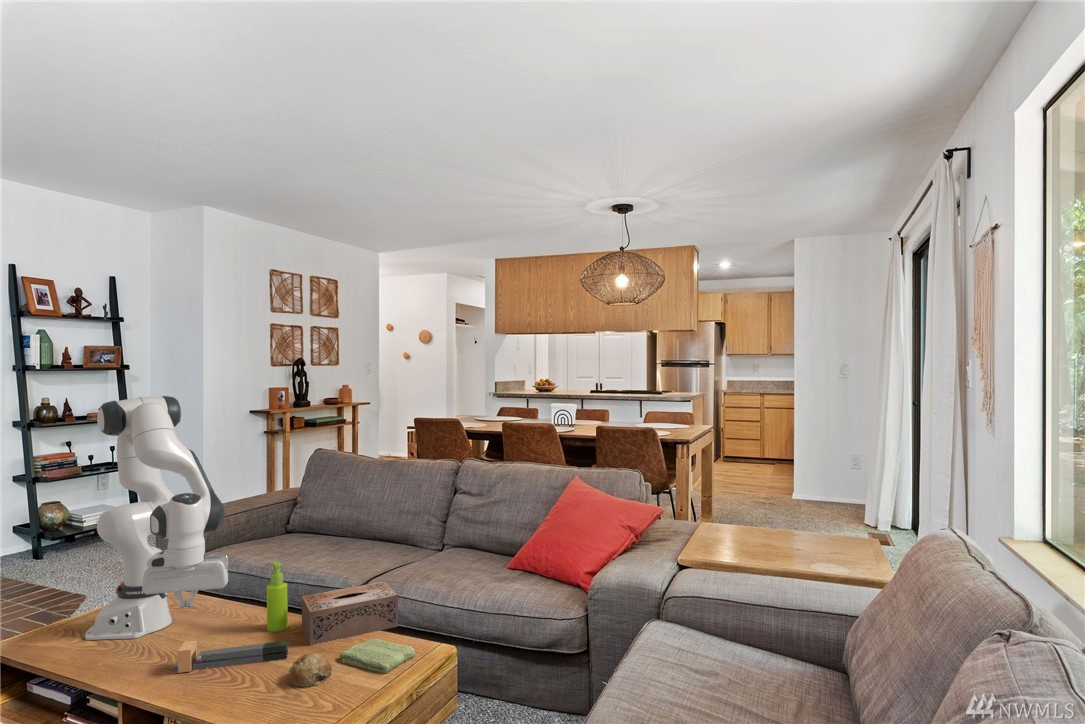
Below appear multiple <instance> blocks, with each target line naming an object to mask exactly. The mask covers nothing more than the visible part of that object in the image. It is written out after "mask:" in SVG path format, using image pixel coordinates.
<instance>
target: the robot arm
mask: <svg viewBox="0 0 1085 724" xmlns="http://www.w3.org/2000/svg"><path fill="white" fill-rule="evenodd" d="M181 407H182V406H181V405H180V402H179V400H178V399H177V398H175V396H168V395H162V396H141V397H140V396H138V397H136V398H128V399H122V400H111V401H107V402H104V403H102V404H101V405H100V407H99V409H98V412H97V416H96V422H97V425H98V427H99V429H100V432H101V433H103V434H105V435H106V436H115V437H116V436H117V440H116V441H117V442H116V459H117V460H116V461H117V471H118V479H119V480H118V481H119V484H120V485H121V487H123V488H124V489H126V490H128V491H133V492H135V493H136V494H137V496H138V497H139V500H140V501H137V502H132V503H127V504H122V505H118V506H115V507H113V508H110V509H108V510H104V511H103V512H102V513H101V514H100V516H99V518H98V519H97V521H96V522H97V523H96V532H97V535H99V538H100V539H101V540H103V541H104V542H105V543H108V544H110V545H112V546H113V547H114V548H115V549H116V550H117V551H118V552H119V555H120V556H121V559H122V565H123V566H122V567H123V580H122V581H120V583H119V585H118V586H117V587H116V588H115V594H116V595H117V596H116V597H114V598H113V599H112V600H111V601H110V602H109V603H107V604H106V605H105V606H103V608H101V609H100V611H98V613H97V614H96V617H95V620H94V623H93V625H92V626H91V627H89V629H87V631H86V632H85V636H84V639H85V640H86V641H90V640H91V641H92V640H93V641H94V640H95V641H96V640H97V641H98V640H122V639H123V640H124V639H125V640H128V639H129V640H131V639H138V638H140V637H143V636H145V635H147V634H151V633H154V632H157V631H160V630H162V629H164V628H167V626H170V624H172V623H173V618H172V615H171V613H170V609H169V603H168V597H167V596H168V594H169V593H173V595H174V598H175V600H177V602H178V608H179V609H182V608H192V607H193V606H194V599H195V598H196V595H197V594H198V592H199V591H204V590H205V591H206V590H217V589H218V590H219V589H221V590H222V589H223V588H225V587H226V586H227V585H228V582H229V572H228V567H229V565H230V563H229V561H230V558H229V557H228V555H226V554H223V553H222V552H221V553H220V552H219V553H206V540H205V537H204V534H205V533H215V531H217V529H219V528H220V526H221V525H222V524H223V522H224V520H225V518H226V511H225V510H226V509H225V506H224V504H223V503H222V501H221V499H220V498H219V497H218V495H217V494H216V492H215V490H214V488H213V487H212V484H211V482H210V481H209V478H208V476H207V474H206V472H205V470H204V468H203V466H202V464H201V462H200V459H199V458H198V456H197V455H196V454H195V452H194V451H193V450H192V449H189V448H188V447H186V446H185V445H184V444H183V443H182V442H181V441H180V439H179V438H178V435H177V432H176V428H175V427H176V426H177V425H179V424H180V422H181V419H182V408H181ZM162 470H164V471H169V472H173V473H176V474H179V475H180V476H182V477H184V478H185V480H186V481H187V483H188V486H189V487H190V490H191V491H192V492H191V493H190V492H186V493H179V494H174V493H173V492H172V491H171V490H170V489H169V487H168V486H167V485H166V482H165V480H164V478H163V476H162ZM149 536H155V537H156V538H158V539H162V540H163V539H164V540H165V539H167V540H168V544H167V549H164V550H162V549H161V548H158V547H155V546H152V545H150V544H149V542H148V537H149ZM183 592H189V594H190V595H191V597H190V598H184V597H183V596H182V593H183Z"/></svg>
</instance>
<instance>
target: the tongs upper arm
mask: <svg viewBox="0 0 1085 724" xmlns="http://www.w3.org/2000/svg"><path fill="white" fill-rule="evenodd" d="M287 648H288V649H289V640H280V641H271V642H265V643H264V642H263V643H258V644H257V643H256V644H250V645H241V646H234V647H233V646H231V647H226V648H217V649H209V650H208V649H207V650H201V651H200V650H199V652H197V656H196V658H195V661H196V662H200V661H208V660H216V659H224V658H232V657H240V656H248V655H256V654H266V653H274V652H282V651H286V650H287Z"/></svg>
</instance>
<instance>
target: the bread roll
mask: <svg viewBox="0 0 1085 724" xmlns="http://www.w3.org/2000/svg"><path fill="white" fill-rule="evenodd" d="M288 673H289V681H290V682H291V684H293V685H294V686H296V687H301V688H308V687H317V686H319V685H320V684H322V683H324V682H325V681H326V680H328V679H330V677H331V675H332V664H331V662H330V661H329V659H328V658H326V657H325V656H324V655H323V654H321V653H316V652H315V653H314V652H310V653H306V654H303V655H301V656H299V657H298V658H297V659H296V660H295V661H293V663H292V666H291V667H290V668H289V670H288ZM327 678H328V679H327Z"/></svg>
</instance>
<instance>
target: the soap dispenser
mask: <svg viewBox="0 0 1085 724" xmlns="http://www.w3.org/2000/svg"><path fill="white" fill-rule="evenodd" d="M268 565H272V566H273V573H271V575H270V584H268V585H266V630H267V631H268V632H271V633H272V632H273V633H274V632H275V633H276V632H281V631H285V630H286V629H287V628H288V627H289V622H288V621H289V620H288V618H289V616H288V615H289V614H288V606H289V603H288V583H287V582H284V573H283V572H282V571H281V567H283V566H282V565H283V564H282V563H281V562H280V561H278V560H273V561H269V562H268Z"/></svg>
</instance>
